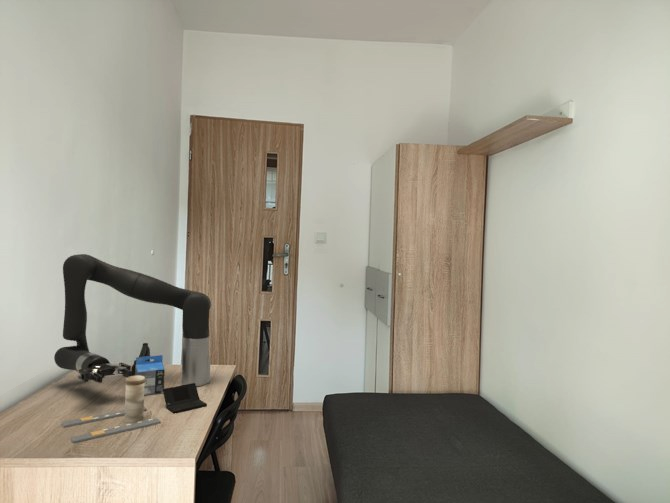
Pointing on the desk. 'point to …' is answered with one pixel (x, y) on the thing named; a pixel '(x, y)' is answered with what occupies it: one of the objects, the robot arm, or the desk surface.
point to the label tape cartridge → (151, 373)
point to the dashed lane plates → (106, 431)
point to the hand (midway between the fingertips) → (115, 377)
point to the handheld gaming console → (182, 398)
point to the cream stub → (134, 398)
